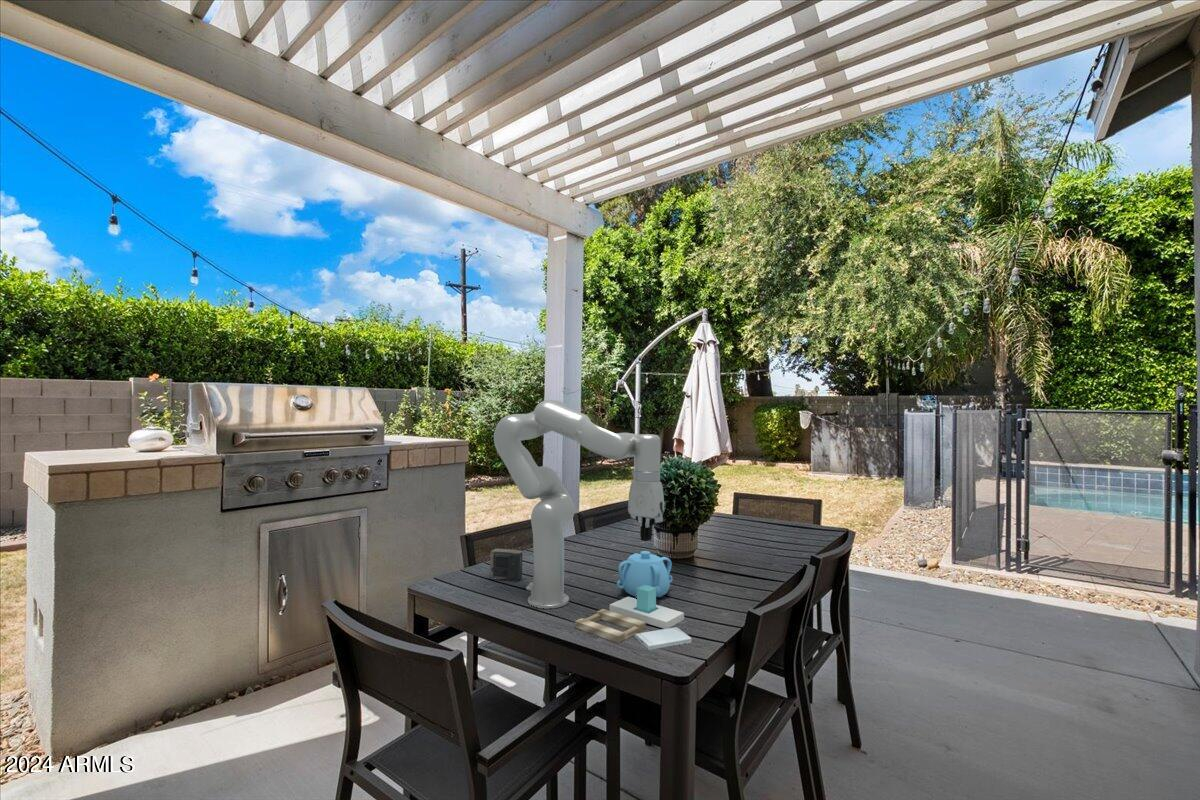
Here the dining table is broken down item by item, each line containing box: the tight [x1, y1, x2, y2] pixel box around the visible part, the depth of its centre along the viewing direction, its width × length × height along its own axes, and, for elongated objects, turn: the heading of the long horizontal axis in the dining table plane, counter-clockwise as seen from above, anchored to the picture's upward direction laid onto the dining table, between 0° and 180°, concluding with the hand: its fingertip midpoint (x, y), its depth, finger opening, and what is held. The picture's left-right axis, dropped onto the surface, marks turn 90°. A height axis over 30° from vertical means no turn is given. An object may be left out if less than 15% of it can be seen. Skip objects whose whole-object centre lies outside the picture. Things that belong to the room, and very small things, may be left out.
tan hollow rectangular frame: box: [574, 608, 647, 644], centre depth 150 cm, size 15×12×2 cm
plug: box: [637, 585, 657, 614], centre depth 160 cm, size 4×4×8 cm
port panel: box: [608, 596, 685, 629], centre depth 160 cm, size 20×9×2 cm, turn 50°
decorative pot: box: [616, 550, 674, 599], centre depth 178 cm, size 16×16×14 cm
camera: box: [488, 548, 523, 582], centre depth 192 cm, size 11×6×10 cm, turn 74°
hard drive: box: [634, 626, 693, 651], centre depth 144 cm, size 2×8×12 cm
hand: (646, 540), depth 160 cm, fingers closed
